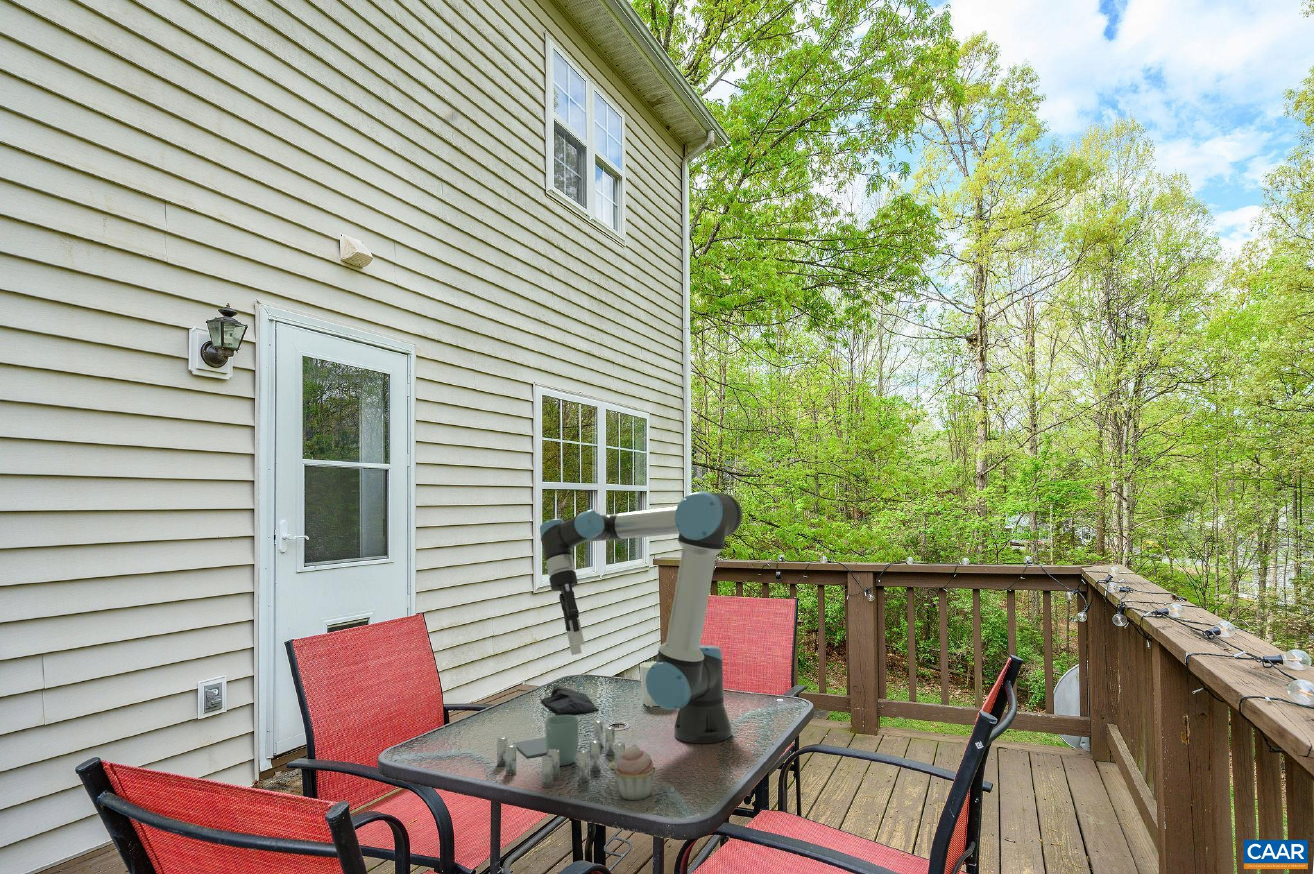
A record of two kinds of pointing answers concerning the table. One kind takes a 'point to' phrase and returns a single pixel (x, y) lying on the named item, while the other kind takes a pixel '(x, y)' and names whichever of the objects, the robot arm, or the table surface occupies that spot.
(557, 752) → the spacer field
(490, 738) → the table surface
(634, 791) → the cupcake
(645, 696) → the candle holder
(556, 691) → the dark slate chunk
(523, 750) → the slate coaster
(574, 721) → the cup
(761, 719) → the table surface
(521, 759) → the table surface
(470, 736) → the table surface
